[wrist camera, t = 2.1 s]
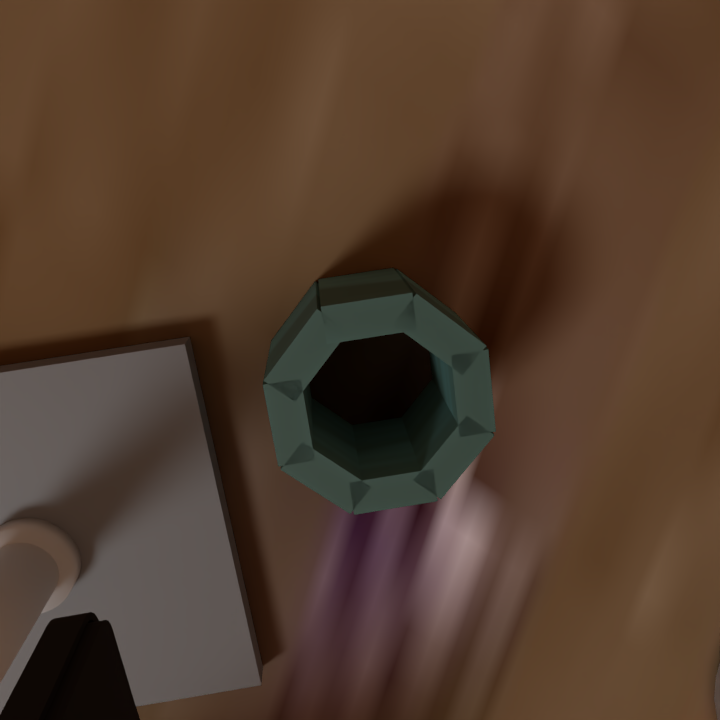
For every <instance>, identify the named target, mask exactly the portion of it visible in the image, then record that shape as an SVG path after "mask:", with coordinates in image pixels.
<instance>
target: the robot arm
mask: <svg viewBox="0 0 720 720" xmlns="http://www.w3.org/2000/svg"><path fill="white" fill-rule="evenodd" d="M714 701H715V707H716V713H717V719H718V720H720V664H719V667H718V671H717V674H716V682H715V696H714ZM0 720H140V719H139V715H138V712H137V709H136V705H135V702H134V699H133V695H132V692H131V689H130V685H129V682H128V679H127V675H126V672H125V669H124V665H123V662H122V659H121V655H120V652H119V649H118V645H117V642H116V639H115V635H114V632H113V629H112V626H111V624H110V622H109V621H108V620H102V621H99V620H98V617H97V616H96V615H95V613H92V612H88V613H83V614H77V615H71V616H65V617H60V618H54V619H52V620H51V621H50V622H49V623H48V625H47V626H46V628H45V630H44V632H43V634H42V636H41V638H40V640H39V641H38V643H37V645H36V647H35V649H34V651H33V653H32V655H31V657H30V659H29V661H28V662H27V664H26V666H25V668H24V670H23V672H22V674H21V676H20V678H19V680H18V681H17V683H16V685H15V687H14V689H13V691H12V693H11V695H10V697H9V699H8V700H7V702H6V704H5V706H4V708H3V710H2V712H1V714H0Z"/></svg>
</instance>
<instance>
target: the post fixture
mask: <svg viewBox="0 0 720 720" xmlns="http://www.w3.org/2000/svg"><path fill="white" fill-rule="evenodd" d="M88 612H92V613H95V615H96V616H97V617H98V620H99V621H102V620H108V621H109V622H110V624H111V626H112V629H113V632H114V635H115V639H116V642H117V645H118V649H119V652H120V655H121V659H122V662H123V665H124V669H125V672H126V675H127V679H128V682H129V685H130V689H131V692H132V695H133V699H134V702H135V705H136V706H142V705H148V704H154V703H160V702H165V701H171V700H177V699H183V698H189V697H195V696H201V695H206V694H212V693H218V692H224V691H230V690H236V689H242V688H248V687H253V686H259V685H261V682H262V671H263V665H262V661H261V656H260V652H259V647H258V643H257V638H256V634H255V629H254V625H253V620H252V616H251V611H250V607H249V602H248V598H247V593H246V589H245V584H244V580H243V575H242V571H241V566H240V562H239V557H238V552H237V548H236V543H235V539H234V534H233V530H232V525H231V521H230V516H229V512H228V507H227V503H226V498H225V494H224V489H223V485H222V480H221V476H220V471H219V467H218V462H217V458H216V453H215V449H214V444H213V440H212V435H211V431H210V426H209V422H208V417H207V412H206V408H205V403H204V399H203V394H202V390H201V385H200V381H199V376H198V372H197V367H196V363H195V358H194V354H193V349H192V345H191V340H190V337H184V338H178V339H171V340H165V341H158V342H152V343H145V344H139V345H132V346H126V347H119V348H113V349H106V350H100V351H93V352H87V353H80V354H74V355H67V356H61V357H55V358H48V359H42V360H35V361H29V362H22V363H16V364H9V365H3V366H0V714H1V712H2V710H3V708H4V706H5V704H6V702H7V700H8V699H9V697H10V695H11V693H12V691H13V689H14V687H15V685H16V683H17V681H18V680H19V678H20V676H21V674H22V672H23V670H24V668H25V666H26V664H27V662H28V661H29V659H30V657H31V655H32V653H33V651H34V649H35V647H36V645H37V643H38V641H39V640H40V638H41V636H42V634H43V632H44V630H45V628H46V626H47V625H48V623H49V622H50V621H51V620H52V619H54V618H60V617H65V616H71V615H77V614H83V613H88Z"/></svg>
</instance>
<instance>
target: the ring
mask: <svg viewBox="0 0 720 720" xmlns="http://www.w3.org/2000/svg"><path fill="white" fill-rule="evenodd" d="M318 282H319V283H317V282H316V281H315V282H314V283H313V285H312V286H311V287H310V289H309V290H308V292H307V293H306V294H305V296H304V297H303V298H302V300H301V301H300V302H299V304H298V305H297V306H296V308H295V309H294V311H293V312H292V313H291V315H290V316H289V317H288V319H287V320H286V321H285V323H284V324H283V326H282V327H281V328H280V330H279V331H278V332H277V334H276V335H275V336H274V338H273V339H272V340H271V345H270V350H269V355H268V360H267V366H266V371H265V376H264V381H263V389H264V394H265V399H266V404H267V409H268V415H269V420H270V425H271V430H272V435H273V441H274V446H275V451H276V456H277V461H278V466H281V470H282V471H284V472H285V473H287V474H288V475H290V476H292V477H293V478H295V479H296V480H298V481H299V482H301V483H303V484H304V485H306V486H307V487H309V488H310V489H312V490H314V491H315V492H317V493H318V494H320V495H321V496H323V497H325V498H326V499H328V500H329V501H331V502H332V503H334V504H336V505H337V506H339V507H340V508H342V509H343V510H345V511H347V512H348V513H350V514H351V512H352V511H353V510H354V515H355V514H361V513H367V512H373V511H379V510H386V509H392V508H398V507H404V506H410V505H416V504H422V503H428V502H434V501H437V497H439V498H440V499H441V498H442V497H443V496H444V495H445V494H446V492H447V491H448V490H449V489H450V488H451V486H452V485H453V484H454V483H455V482H456V480H457V479H458V478H459V477H460V476H461V475H462V473H463V472H464V471H465V470H466V469H467V467H468V466H469V465H470V464H471V463H472V461H473V460H474V459H475V458H476V457H477V455H478V454H479V453H480V452H481V451H482V449H483V448H484V447H485V446H486V445H487V444H488V442H489V441H490V440H491V439H492V438H493V436H494V434H493V432H495V431H496V429H495V418H494V407H493V396H492V385H491V373H490V362H489V351H488V348H487V347H486V345H485V344H484V343H483V342H482V341H481V340H480V339H479V337H478V336H477V335H476V334H475V333H474V332H473V331H472V330H471V329H470V328H469V327H468V326H467V325H466V324H465V323H464V322H463V321H462V320H461V318H460V317H459V316H458V315H457V314H456V313H455V312H454V311H452V310H451V309H450V308H448V307H447V306H446V305H444V304H443V303H442V302H440V301H439V300H438V299H436V298H435V297H434V296H432V295H431V294H430V293H428V292H427V291H426V290H424V289H423V288H422V287H420V286H419V285H418V284H416V283H415V282H414V281H412V280H411V279H410V278H408V277H407V276H406V275H404V274H403V273H402V272H400V271H399V270H398V269H396V270H395V269H394V268H388V269H382V270H375V271H369V272H362V273H356V274H349V275H342V276H336V277H329V278H323V279H318ZM402 332H404V333H405V334H407V335H408V336H409V337H411V338H412V339H413V340H415V341H416V342H418V343H419V344H420V345H422V346H423V347H424V348H426V349H427V350H429V355H430V363H431V372H432V380H431V381H430V382H429V384H428V385H427V386H426V387H425V388H424V390H423V391H422V392H421V393H420V395H419V396H418V397H417V398H416V400H415V401H414V402H413V403H412V405H411V406H410V407H409V408H408V410H407V411H406V412H405V413H404V415H403V416H402V417H400V418H393V419H387V420H381V421H374V422H368V423H362V424H356V425H352V424H350V423H349V422H347V421H346V420H344V419H343V418H341V417H340V416H338V415H337V414H335V413H334V412H332V411H331V410H329V409H328V408H326V407H325V406H323V405H322V404H320V403H319V402H317V401H316V400H314V399H313V398H312V395H311V389H310V384H309V383H310V381H311V380H312V379H313V377H314V376H315V375H316V373H317V372H318V371H319V370H320V368H321V367H322V366H323V364H324V363H325V362H326V360H327V359H328V358H329V356H330V355H331V354H332V352H333V351H334V350H335V348H336V347H337V346H338V344H339V343H340V342H344V341H351V340H357V339H364V338H370V337H376V336H383V335H389V334H396V333H402Z"/></svg>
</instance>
